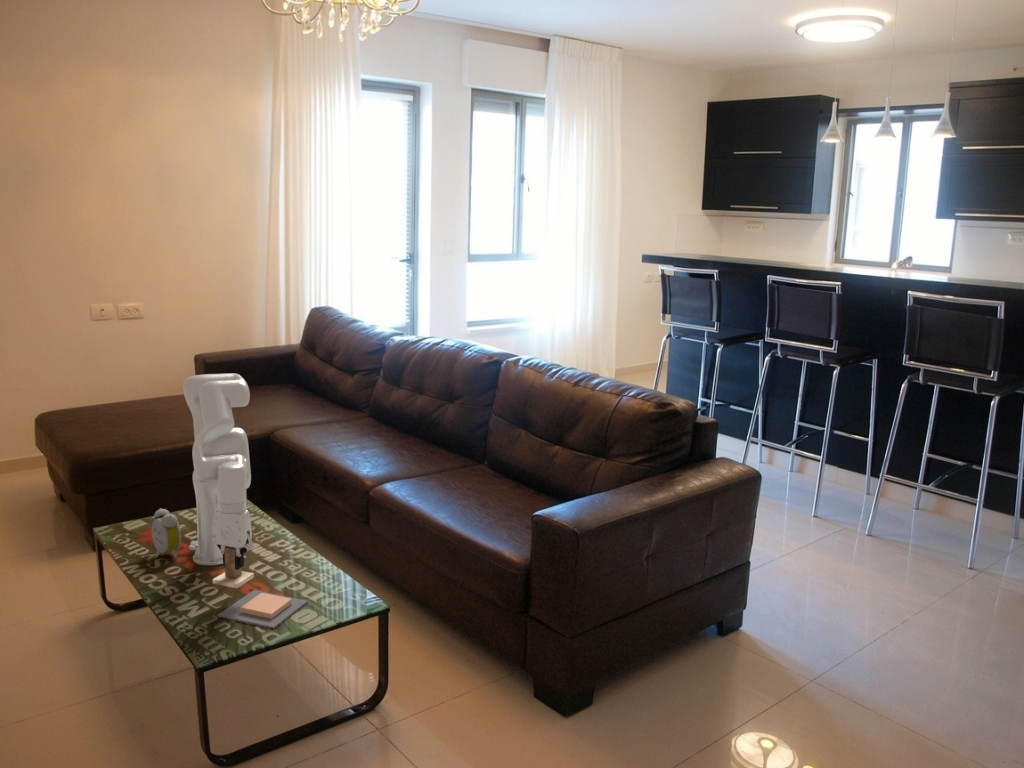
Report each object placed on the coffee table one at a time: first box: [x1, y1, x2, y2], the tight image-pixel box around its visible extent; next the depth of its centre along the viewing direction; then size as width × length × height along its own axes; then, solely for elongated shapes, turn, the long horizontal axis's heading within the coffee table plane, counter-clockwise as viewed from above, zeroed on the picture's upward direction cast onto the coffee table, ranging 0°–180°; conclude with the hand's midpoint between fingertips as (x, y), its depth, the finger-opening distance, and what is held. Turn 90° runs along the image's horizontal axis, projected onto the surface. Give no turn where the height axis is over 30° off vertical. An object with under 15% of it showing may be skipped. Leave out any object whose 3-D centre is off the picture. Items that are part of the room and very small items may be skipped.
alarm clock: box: [151, 507, 182, 560], centre depth 266 cm, size 12×7×15 cm, turn 44°
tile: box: [241, 593, 292, 619], centre depth 234 cm, size 2×10×10 cm
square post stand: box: [212, 546, 255, 589], centre depth 235 cm, size 8×8×10 cm
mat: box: [217, 589, 309, 630], centre depth 235 cm, size 18×17×1 cm
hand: (233, 566), depth 236 cm, fingers closed on square post stand, 3 cm apart
